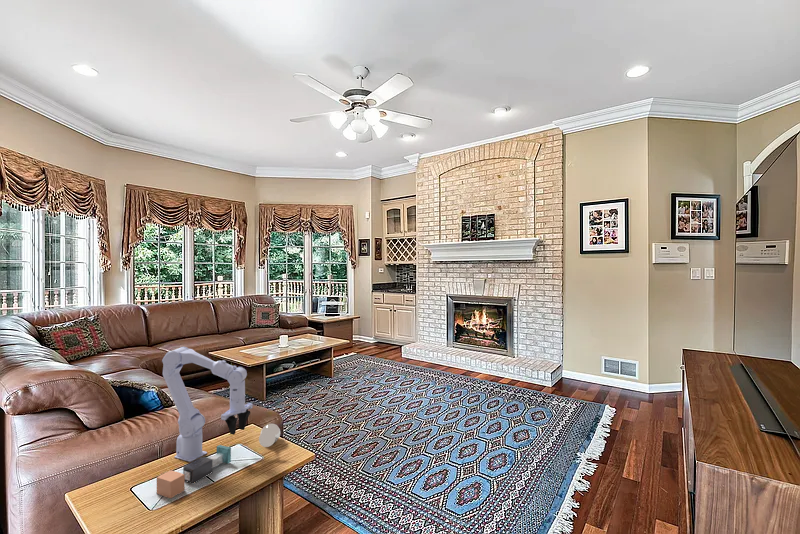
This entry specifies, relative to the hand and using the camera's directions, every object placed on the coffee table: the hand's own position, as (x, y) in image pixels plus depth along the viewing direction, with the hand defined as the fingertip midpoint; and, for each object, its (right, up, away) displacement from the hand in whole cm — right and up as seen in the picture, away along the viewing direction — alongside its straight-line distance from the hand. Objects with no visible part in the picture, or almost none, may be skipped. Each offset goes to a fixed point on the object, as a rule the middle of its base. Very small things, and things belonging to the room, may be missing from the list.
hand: (237, 431), depth 155 cm
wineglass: (+13, -2, -2) cm, 13 cm away
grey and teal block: (-6, -9, -13) cm, 17 cm away
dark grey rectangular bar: (-7, -9, -17) cm, 20 cm away
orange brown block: (-11, -9, -26) cm, 30 cm away
